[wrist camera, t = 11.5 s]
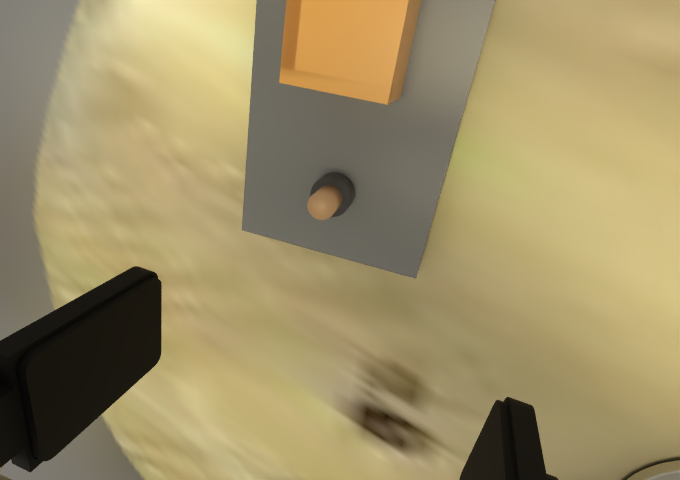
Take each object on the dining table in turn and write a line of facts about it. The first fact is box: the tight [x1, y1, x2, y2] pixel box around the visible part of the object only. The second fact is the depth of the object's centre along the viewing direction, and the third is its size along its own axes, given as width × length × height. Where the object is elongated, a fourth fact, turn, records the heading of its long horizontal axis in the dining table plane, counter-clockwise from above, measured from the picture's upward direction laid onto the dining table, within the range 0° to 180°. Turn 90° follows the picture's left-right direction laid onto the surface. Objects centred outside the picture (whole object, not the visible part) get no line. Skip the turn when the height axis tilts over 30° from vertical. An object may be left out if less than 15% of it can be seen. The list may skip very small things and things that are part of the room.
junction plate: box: [242, 0, 495, 278], centre depth 26 cm, size 14×20×6 cm
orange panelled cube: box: [279, 0, 421, 105], centre depth 22 cm, size 6×6×5 cm
